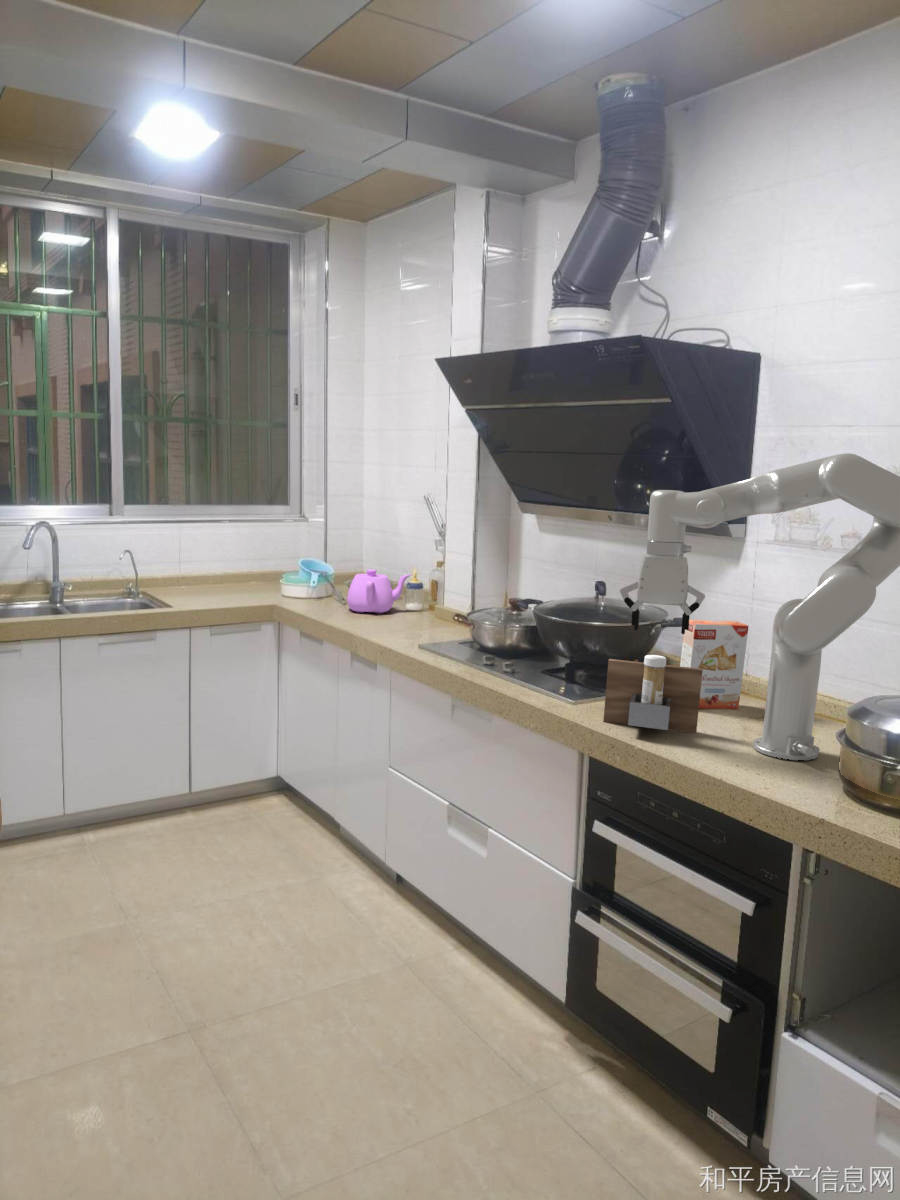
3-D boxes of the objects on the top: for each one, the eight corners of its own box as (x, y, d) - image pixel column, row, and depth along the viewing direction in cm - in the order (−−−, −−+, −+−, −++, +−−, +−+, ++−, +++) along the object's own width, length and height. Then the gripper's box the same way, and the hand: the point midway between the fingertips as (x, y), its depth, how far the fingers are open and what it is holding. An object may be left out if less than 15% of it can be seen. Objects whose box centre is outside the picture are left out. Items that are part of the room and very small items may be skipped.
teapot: (344, 615, 317) (346, 572, 314) (348, 606, 337) (349, 565, 335) (410, 618, 318) (412, 575, 316) (409, 608, 339) (411, 568, 336)
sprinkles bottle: (663, 721, 192) (669, 659, 190) (642, 720, 192) (648, 658, 190) (657, 715, 197) (663, 654, 195) (636, 714, 197) (642, 653, 195)
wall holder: (695, 745, 189) (702, 679, 187) (598, 732, 194) (604, 668, 192) (696, 731, 199) (702, 668, 197) (604, 719, 204) (609, 658, 202)
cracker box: (686, 710, 217) (694, 623, 213) (675, 703, 222) (683, 618, 219) (740, 710, 219) (749, 624, 216) (728, 703, 225) (736, 619, 222)
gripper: (708, 551, 190) (702, 631, 193) (624, 546, 195) (619, 625, 197) (708, 554, 183) (702, 637, 186) (621, 549, 188) (616, 630, 190)
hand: (659, 631), depth 192 cm, fingers open, 9 cm apart
